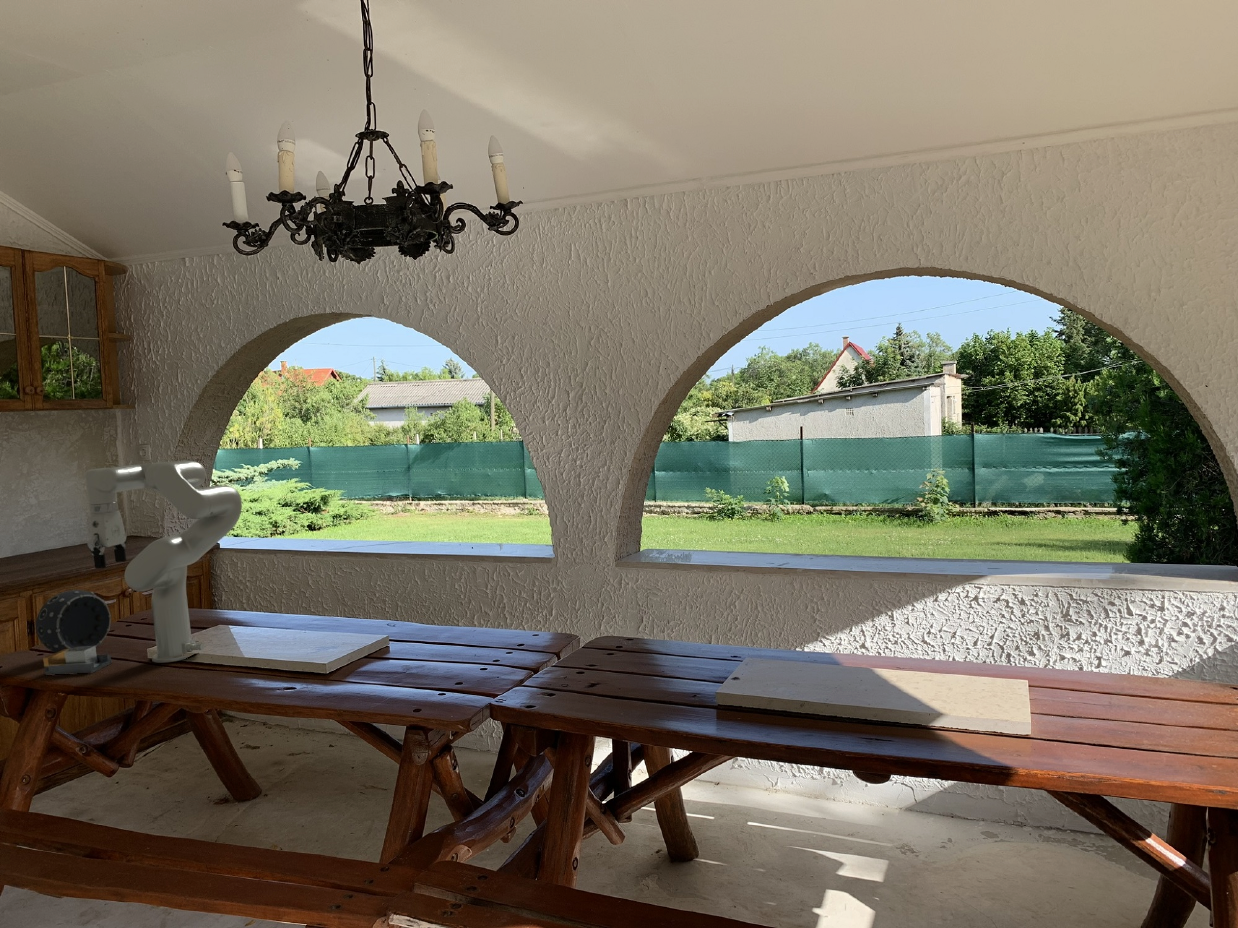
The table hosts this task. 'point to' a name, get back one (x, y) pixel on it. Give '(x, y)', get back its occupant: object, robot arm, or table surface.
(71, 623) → the dark grey studded drum
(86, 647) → the grey cube
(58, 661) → the coupler bracket
